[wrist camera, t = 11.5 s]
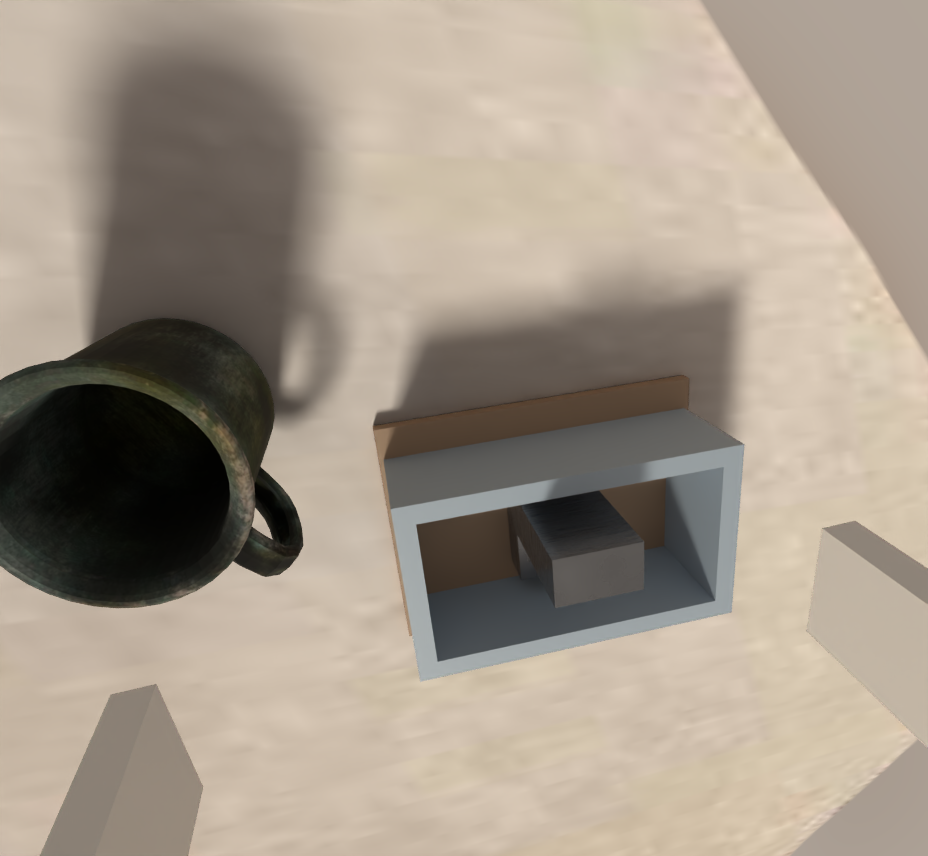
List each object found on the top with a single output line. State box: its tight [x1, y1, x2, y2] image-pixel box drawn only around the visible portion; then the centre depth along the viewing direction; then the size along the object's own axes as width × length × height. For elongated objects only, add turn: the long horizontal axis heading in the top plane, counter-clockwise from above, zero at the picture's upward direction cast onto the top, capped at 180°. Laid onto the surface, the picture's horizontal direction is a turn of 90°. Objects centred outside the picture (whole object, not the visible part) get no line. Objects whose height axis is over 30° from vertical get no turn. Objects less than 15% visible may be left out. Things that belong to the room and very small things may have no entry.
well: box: [373, 375, 744, 682], centre depth 38 cm, size 16×21×7 cm
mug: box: [0, 318, 303, 608], centre depth 30 cm, size 11×15×12 cm
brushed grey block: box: [507, 490, 644, 608], centre depth 36 cm, size 6×5×10 cm
